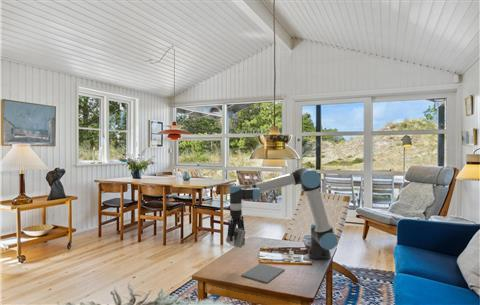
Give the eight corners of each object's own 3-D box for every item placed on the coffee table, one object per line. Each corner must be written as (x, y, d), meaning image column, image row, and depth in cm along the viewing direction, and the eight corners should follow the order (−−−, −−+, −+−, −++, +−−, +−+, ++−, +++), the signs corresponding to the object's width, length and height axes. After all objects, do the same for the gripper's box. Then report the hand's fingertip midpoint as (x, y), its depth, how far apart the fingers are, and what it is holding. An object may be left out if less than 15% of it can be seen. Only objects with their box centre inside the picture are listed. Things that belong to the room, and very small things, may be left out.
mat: (260, 264, 215) (260, 263, 215) (284, 270, 204) (284, 269, 204) (241, 276, 196) (241, 274, 196) (267, 283, 186) (267, 282, 186)
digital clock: (224, 242, 215) (224, 226, 215) (237, 240, 219) (236, 224, 219) (235, 249, 201) (234, 232, 200) (248, 247, 205) (247, 230, 204)
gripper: (240, 205, 220) (240, 238, 221) (221, 211, 203) (221, 247, 204) (249, 206, 216) (250, 240, 217) (230, 213, 198) (231, 249, 199)
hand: (236, 244), depth 210 cm, fingers closed on digital clock, 8 cm apart
